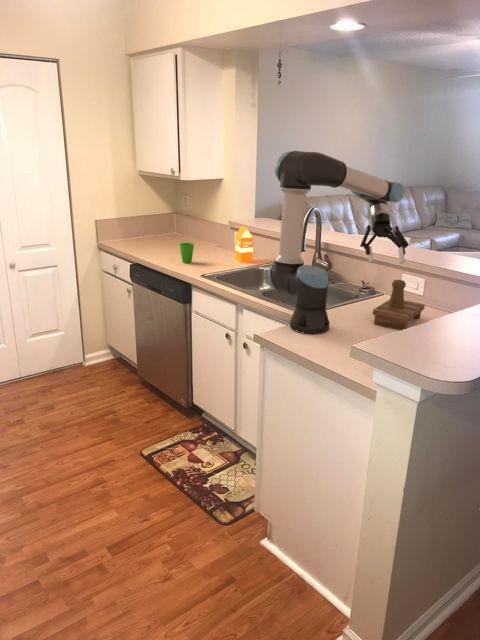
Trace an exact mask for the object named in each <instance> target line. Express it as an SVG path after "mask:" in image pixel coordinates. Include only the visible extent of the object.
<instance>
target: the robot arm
mask: <svg viewBox="0 0 480 640" xmlns="http://www.w3.org/2000/svg"><path fill="white" fill-rule="evenodd" d="M274 174H275V177H276V179H277V180H278V181H279V183H280V184H279V189H280V190H281V191H282V192H283V194H282V195H283V197H282V210H281V223H280V236H279V246H278V247H279V248H278V255H277V256H276V257H275V258H274V261H273V263H272V264H271V265H270V267H269V268H268V270H267V280H268V284H269V285H270V287H271V288H272V289H273V290H275V291H277V292H279V293H281V294H285V295H288V296H290V297H293V298H295V308H294V310H293V312H292V316H291V318H290V320H289V327H291V328H292V329H294V330H297V331H299V332H298V333H300V332H304V333H303V334H305V333H320V334H324V333H327V332H328V331H329V330H330V320H329V317H328V311H327V299H328V291H329V275H328V272H327V271H326V270H325V269H324V268H322V267H320V266H316V265H312V264H311V265H310V264H305V260H304V259H303V258H302V256H301V255H302V247H303V246H302V245H303V244H302V243H303V234H304V233H303V232H304V223H305V212H306V211H305V210H306V202H307V200H306V199H307V194H308V193H310V191H311V189H312V186H315V187H316V186H318V187H319V186H320V187H329V188H333V189H335V188H343V189H346V190H350V192H351V193H352V194H353V195H355V196H356V197H358V198H360V199H362V200H364V202H367V203H368V207H369V212H370V217H371V225H370V224H368V225H367V226H366V227H365V229H364V231H365V233H364V235H363V238H362V240H361V242H360V245H359V246H360V247H361V248H363V249H364V250H365V255H366V256H368V263H369V264H372V263H373V261H374V255H373V249H372V245H371V244H372V243H373V241H374V240H375V239H376V238H377V237H378V238H387V239H388V240H390V241H391V242H392V243H393V244H394V245H395V246H396V247H397V248H398V250H397V251H398V258H399V263H400V265H401V264H403V263H404V262H405V261H406V259H405V255H406V248H407V247H408V246H409V243H408V240H407V239H406V238H405V237H404V236H403V234H402V232H401V230H400V228H399V226H398V225H396V226H395V227H394V226H393V227H392V225H391V219H390V212H389V207H388V202H389V203H399V202H400V201H401V200H402V199H403V198H404V194H405V187H404V185H403V183H400V182H396V181H389V180H386V179H383V178H381V177H378V176H375V175H373V174H369V173H367V172H364V171H361V170H359V169H355V168H353V167H350V166H347V164H346V163H345V162H344V161H341V160H339V159H336V158H334V157H332V156H330V155H327V154H324V153H321V152H318V151H298V150H292V151H286V152H284V153H282V154H281V156H279V157H278V159H277V161H276V162H275V166H274ZM370 232H373V235H372V236H371V238H370V239H369V241H367V239H368V237H369V235H370ZM291 328H290V329H291ZM292 329H291V330H292ZM294 330H293V331H294ZM326 331H327V332H326ZM323 332H324V333H323Z"/></svg>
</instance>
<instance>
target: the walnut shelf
mask: <svg viewBox="0 0 480 640" xmlns="http://www.w3.org/2000/svg"><path fill="white" fill-rule="evenodd" d="M389 302H390V298H389V299H388V300H386V301H385V302H383V303H381V304H380V305H378V306H376V307H375V308H374V309H372V315H373V316H374V323H373V324H374V325H375V326H378V327H379V326H380V327H383V328H389V329H392V330H398V331H402V330H403V329H406V330H407V325H408V322H409V321H411V320H412V319H415V320H420V319H421V315H422V312H423V311H424V310H425V308H426V307H425V306H426V304H425V303H420V302H414V301H410V300H404V308H403V309H393V308H390V307H389Z"/></svg>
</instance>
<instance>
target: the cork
mask: <svg viewBox="0 0 480 640" xmlns="http://www.w3.org/2000/svg"><path fill="white" fill-rule="evenodd" d="M406 285H407V284H406V281H404V280H402V279H394V280H393V281H392V282H391V287H392V290H391V293H390V294H391V295H390V298H389V299H390V302H389V307H390V308H393V309H403V308H404V301H405V292H404V291H405V288H406Z"/></svg>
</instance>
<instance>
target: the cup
mask: <svg viewBox="0 0 480 640" xmlns="http://www.w3.org/2000/svg"><path fill="white" fill-rule="evenodd" d="M178 245H179V249H180V256H181V260H182V261H181V262H182V263H183V264H192V262H193V254H194V249H195V248H194V246H195V243H194V242H179V243H178Z"/></svg>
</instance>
